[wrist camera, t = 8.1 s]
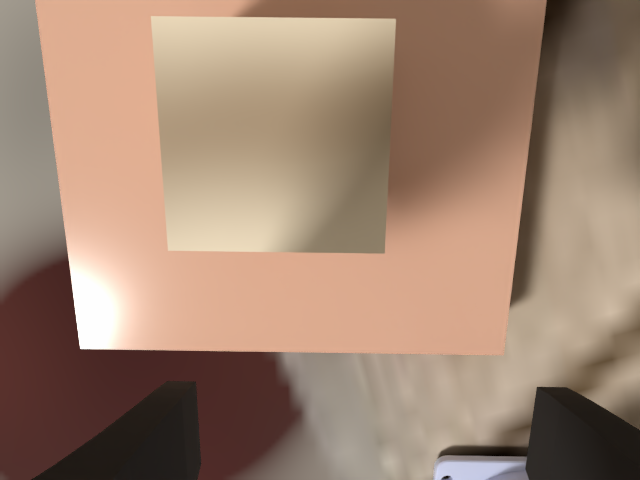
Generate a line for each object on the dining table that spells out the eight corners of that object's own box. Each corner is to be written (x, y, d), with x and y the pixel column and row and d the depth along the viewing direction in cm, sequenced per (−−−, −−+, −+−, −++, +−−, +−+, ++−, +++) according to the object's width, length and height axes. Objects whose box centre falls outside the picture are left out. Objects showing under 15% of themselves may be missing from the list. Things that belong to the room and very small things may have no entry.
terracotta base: (482, 324, 20) (503, 355, 18) (109, 319, 20) (80, 348, 18) (528, -105, 16) (563, -141, 14) (62, -109, 16) (16, -145, 14)
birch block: (367, 208, 16) (384, 253, 12) (214, 206, 16) (167, 250, 12) (373, 44, 15) (396, 18, 10) (206, 42, 15) (151, 16, 10)
